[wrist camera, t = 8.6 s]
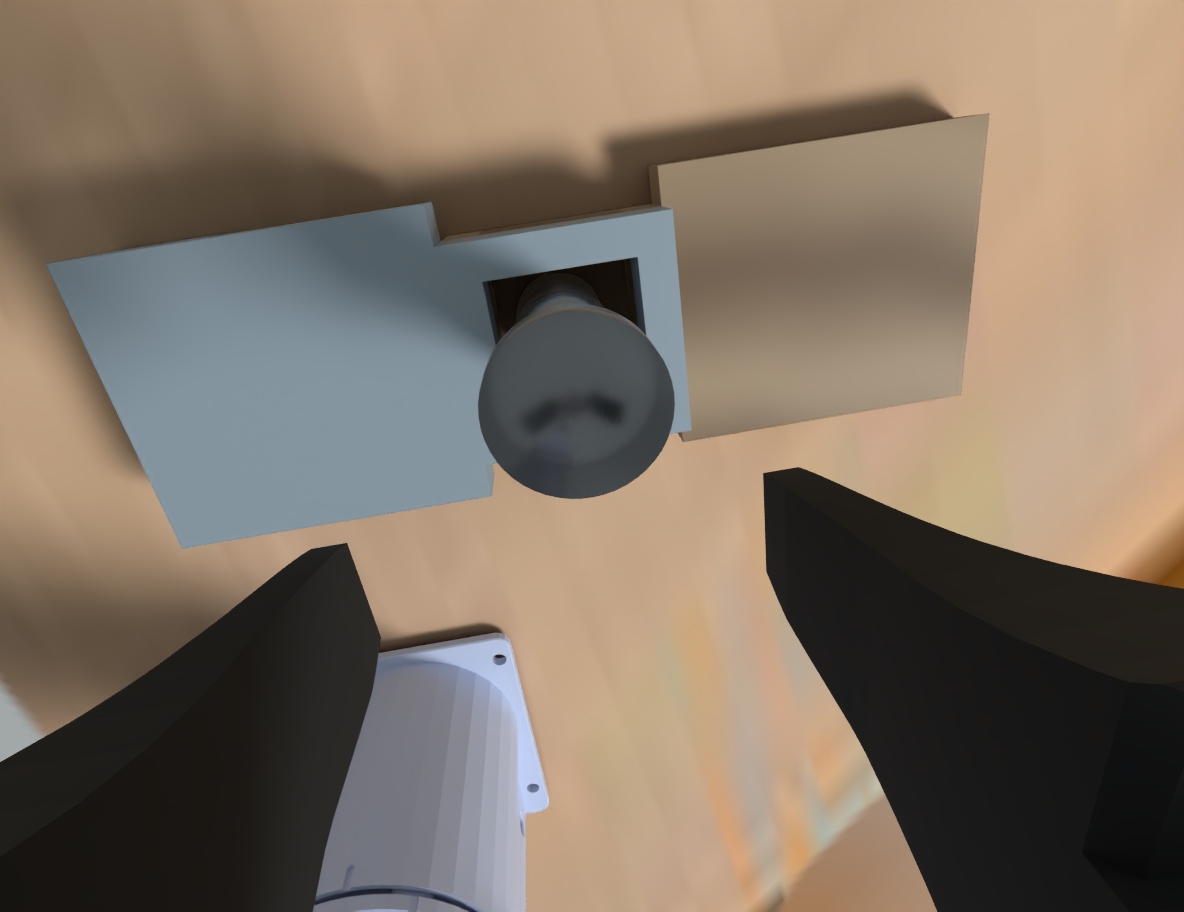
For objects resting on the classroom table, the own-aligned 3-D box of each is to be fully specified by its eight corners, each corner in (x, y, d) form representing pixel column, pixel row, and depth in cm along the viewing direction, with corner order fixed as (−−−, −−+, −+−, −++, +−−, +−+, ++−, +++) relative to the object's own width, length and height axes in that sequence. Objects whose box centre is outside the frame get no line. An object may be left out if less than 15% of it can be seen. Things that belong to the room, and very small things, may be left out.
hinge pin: (625, 361, 21) (684, 480, 13) (514, 381, 21) (502, 513, 12) (608, 244, 19) (663, 294, 11) (488, 266, 19) (456, 332, 11)
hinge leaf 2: (934, 380, 22) (961, 394, 20) (496, 454, 22) (494, 473, 20) (955, 117, 19) (989, 113, 17) (438, 199, 18) (431, 201, 17)
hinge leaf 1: (673, 425, 22) (694, 461, 19) (226, 500, 21) (182, 548, 19) (647, 166, 18) (669, 165, 16) (118, 250, 18) (45, 263, 15)
